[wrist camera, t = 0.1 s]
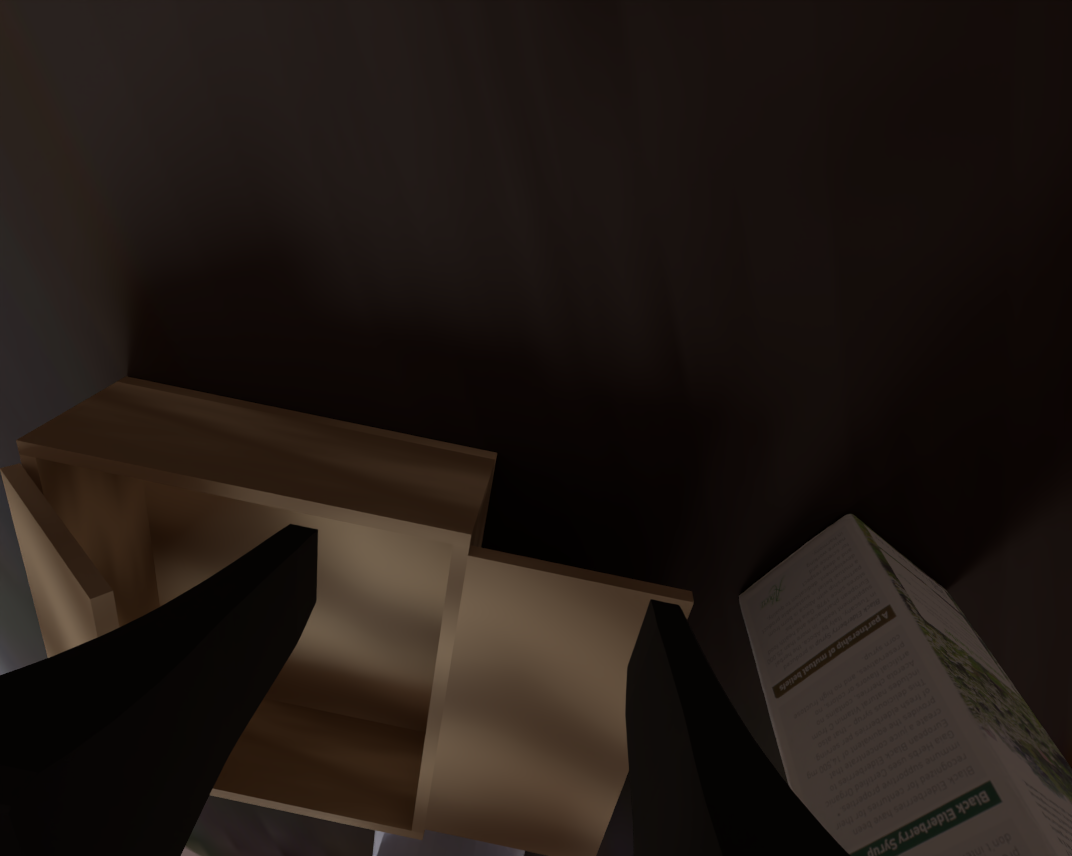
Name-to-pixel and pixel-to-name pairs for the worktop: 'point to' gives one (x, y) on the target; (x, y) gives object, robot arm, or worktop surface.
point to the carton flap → (57, 570)
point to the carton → (367, 614)
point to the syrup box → (899, 709)
